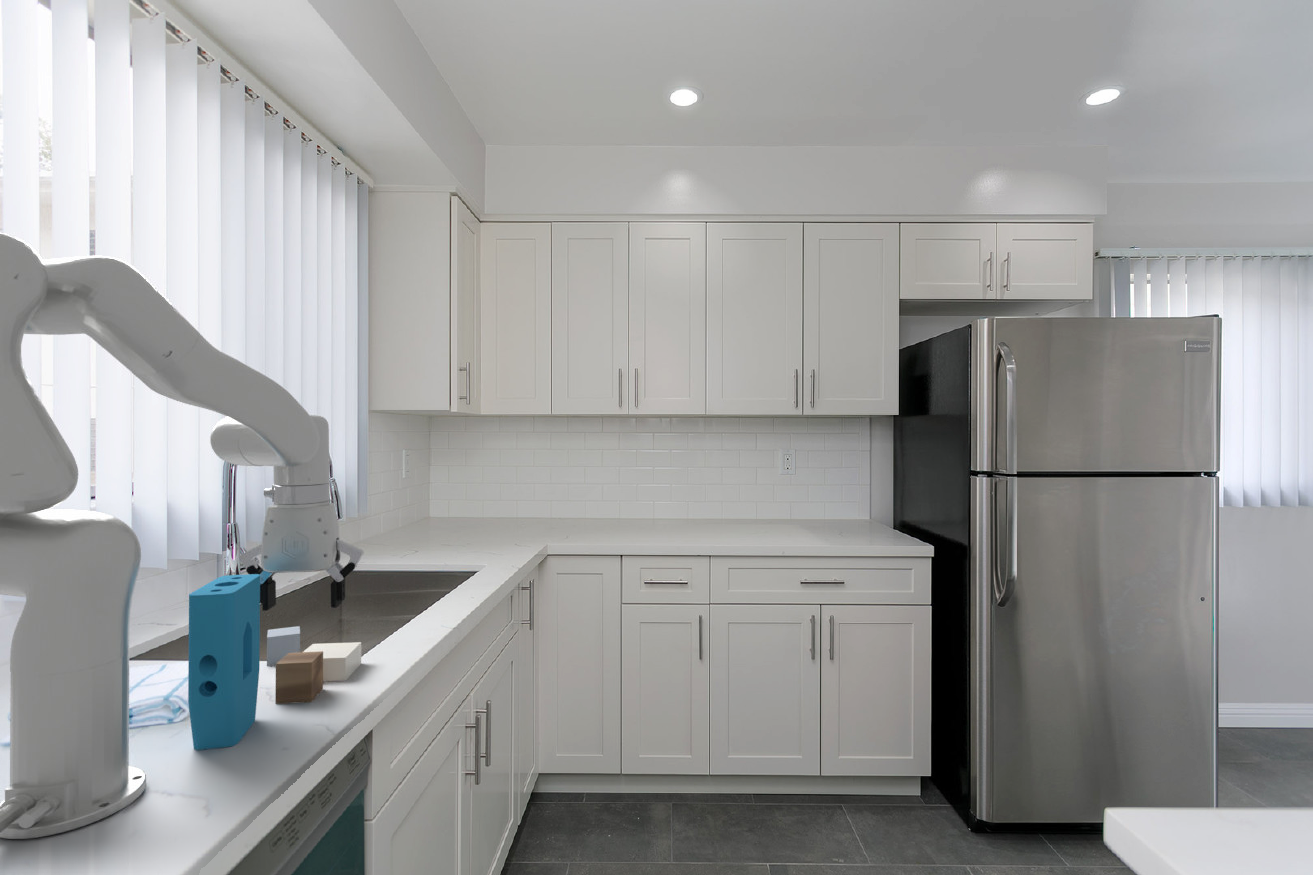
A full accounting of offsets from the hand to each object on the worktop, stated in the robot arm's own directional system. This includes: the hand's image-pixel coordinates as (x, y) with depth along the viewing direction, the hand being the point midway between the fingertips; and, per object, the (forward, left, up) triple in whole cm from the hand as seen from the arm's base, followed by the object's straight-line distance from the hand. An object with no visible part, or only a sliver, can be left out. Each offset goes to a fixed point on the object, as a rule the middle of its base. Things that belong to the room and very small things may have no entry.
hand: (303, 606), depth 101 cm
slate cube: (+17, +9, -14) cm, 24 cm away
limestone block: (+10, -1, -14) cm, 17 cm away
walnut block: (-1, 0, -14) cm, 14 cm away
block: (-13, +5, -14) cm, 19 cm away
